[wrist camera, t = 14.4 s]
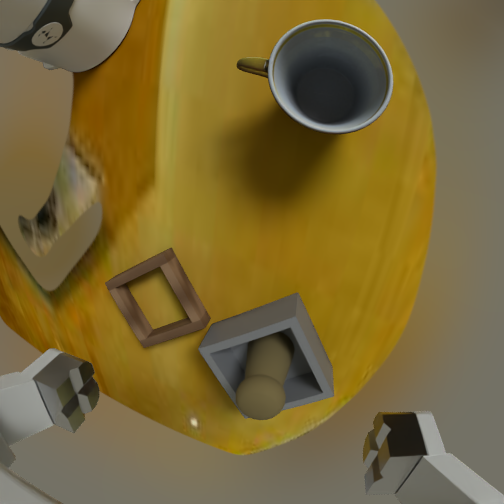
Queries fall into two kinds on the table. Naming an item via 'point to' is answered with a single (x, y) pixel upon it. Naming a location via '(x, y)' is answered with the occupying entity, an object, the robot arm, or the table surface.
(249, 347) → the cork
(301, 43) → the ceramic cup
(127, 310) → the socket collar
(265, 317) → the bin
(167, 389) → the table surface
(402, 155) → the table surface
